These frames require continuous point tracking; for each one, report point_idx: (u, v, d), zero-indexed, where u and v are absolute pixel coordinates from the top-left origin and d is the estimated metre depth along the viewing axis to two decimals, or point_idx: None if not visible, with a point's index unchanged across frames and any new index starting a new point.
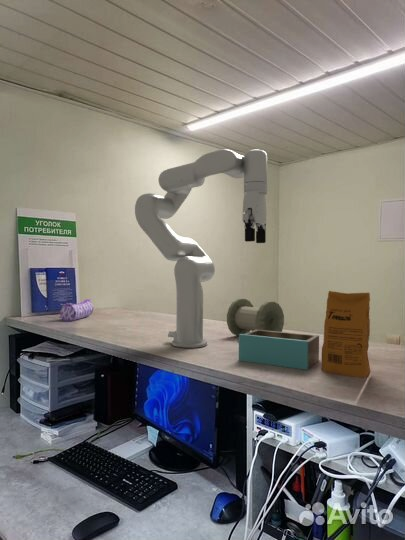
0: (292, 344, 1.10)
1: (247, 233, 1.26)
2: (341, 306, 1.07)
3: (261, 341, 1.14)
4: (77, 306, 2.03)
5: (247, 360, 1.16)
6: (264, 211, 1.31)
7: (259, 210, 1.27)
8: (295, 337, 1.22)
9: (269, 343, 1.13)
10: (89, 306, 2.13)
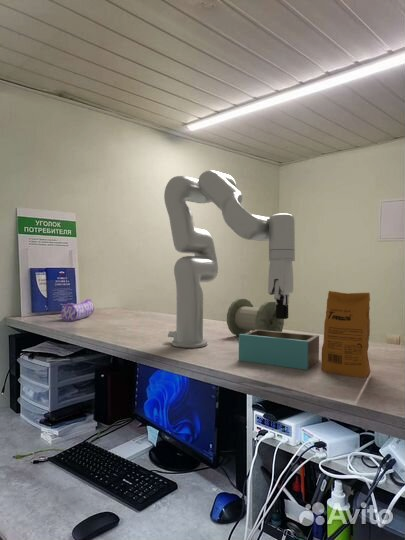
0: (292, 344, 1.10)
1: (279, 310, 1.18)
2: (341, 306, 1.07)
3: (261, 341, 1.14)
4: (78, 306, 2.03)
5: (247, 360, 1.16)
6: (291, 280, 1.19)
7: (287, 281, 1.15)
8: (295, 337, 1.22)
9: (269, 343, 1.13)
10: (90, 306, 2.13)
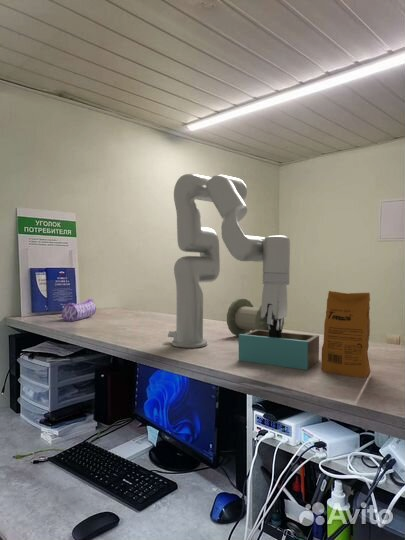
0: (292, 344, 1.10)
1: (272, 335, 1.14)
2: (341, 306, 1.07)
3: (261, 341, 1.14)
4: (79, 306, 2.03)
5: (247, 360, 1.16)
6: (285, 303, 1.15)
7: (280, 306, 1.12)
8: (295, 337, 1.22)
9: (269, 343, 1.13)
10: (91, 306, 2.13)
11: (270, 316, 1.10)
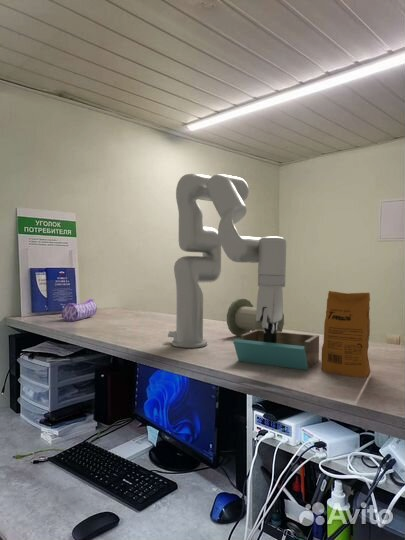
0: (288, 351, 1.07)
1: (267, 339, 1.11)
2: (341, 306, 1.07)
3: (257, 347, 1.11)
4: (79, 306, 2.03)
5: (247, 361, 1.16)
6: (281, 306, 1.12)
7: (276, 309, 1.08)
8: (295, 337, 1.22)
9: (265, 349, 1.10)
10: (92, 306, 2.12)
11: (265, 319, 1.07)
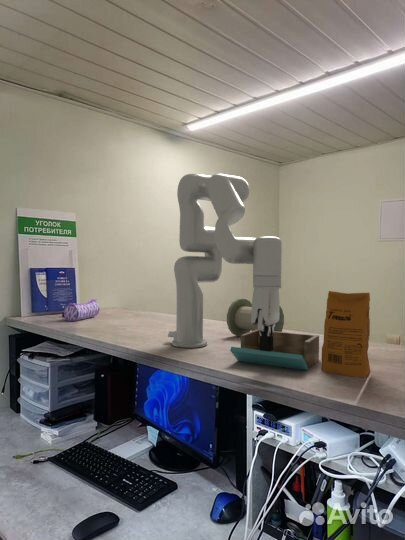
0: (286, 359, 1.05)
1: (263, 342, 1.07)
2: (341, 306, 1.07)
3: (255, 355, 1.10)
4: (81, 306, 2.02)
5: None
6: (277, 308, 1.09)
7: (272, 311, 1.05)
8: (295, 337, 1.22)
9: (263, 357, 1.09)
10: (94, 306, 2.12)
11: (260, 322, 1.04)
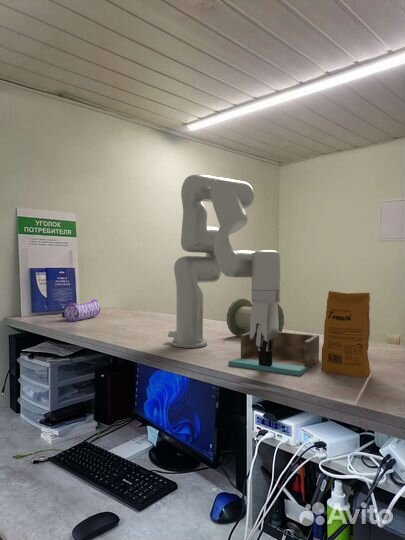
0: None
1: (261, 357, 1.06)
2: (341, 306, 1.07)
3: None
4: (81, 306, 2.02)
5: None
6: (276, 322, 1.08)
7: (270, 325, 1.04)
8: (295, 337, 1.22)
9: None
10: (95, 306, 2.12)
11: (259, 337, 1.03)
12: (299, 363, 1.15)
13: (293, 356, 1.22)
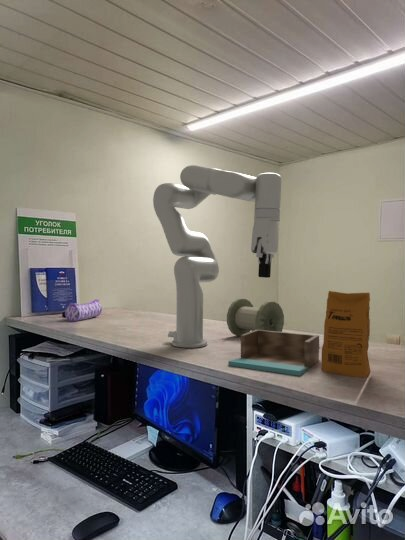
0: None
1: (261, 269, 1.19)
2: (341, 306, 1.07)
3: None
4: (82, 306, 2.02)
5: None
6: (275, 240, 1.21)
7: (270, 240, 1.17)
8: (295, 337, 1.22)
9: None
10: (96, 306, 2.11)
11: (259, 249, 1.16)
12: (299, 363, 1.15)
13: (293, 356, 1.22)
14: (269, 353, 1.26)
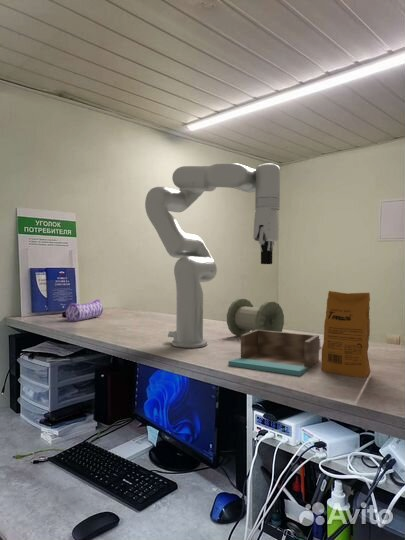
0: None
1: (263, 256, 1.24)
2: (341, 306, 1.07)
3: None
4: (83, 306, 2.02)
5: None
6: (276, 228, 1.26)
7: (271, 227, 1.22)
8: (295, 337, 1.22)
9: None
10: (97, 306, 2.11)
11: (261, 236, 1.21)
12: (299, 363, 1.15)
13: (293, 356, 1.22)
14: (269, 353, 1.26)
